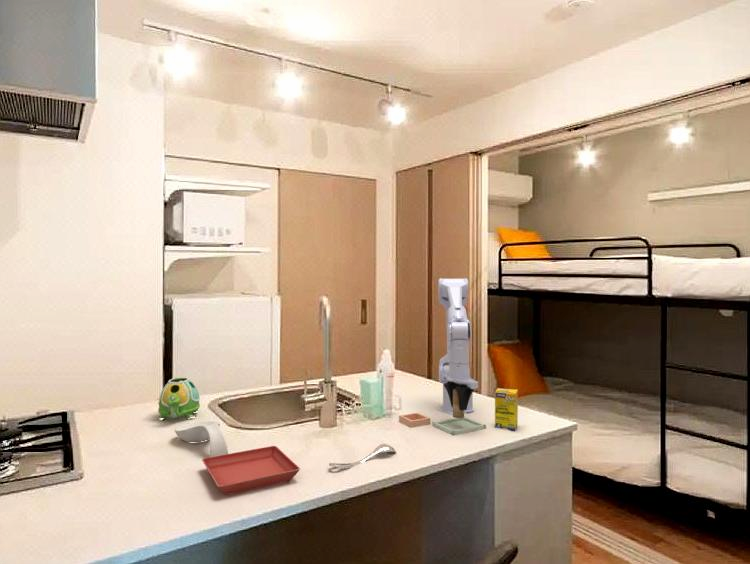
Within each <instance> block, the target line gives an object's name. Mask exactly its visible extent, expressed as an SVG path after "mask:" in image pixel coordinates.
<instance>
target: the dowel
mask: <svg viewBox="0 0 750 564" xmlns="http://www.w3.org/2000/svg"><path fill="white" fill-rule="evenodd" d="M464 414H465V413H464V410H462V411H461V410H460V409H459V399H458V394H457V391H456V388H455V389H453V415H452V417H453V418H463V417H465V416H464Z"/></svg>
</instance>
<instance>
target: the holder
mask: <svg viewBox="0 0 750 564" xmlns="http://www.w3.org/2000/svg"><path fill="white" fill-rule="evenodd" d="M398 423H401V424H402V425H403V424H404V425H405V426H407V427H409V428H418V427H422V426H429V425H431V417H428V416H426V415H424V414H422V413H420V412H413V413H408V414H401V415H399V416H398Z"/></svg>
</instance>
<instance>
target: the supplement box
mask: <svg viewBox="0 0 750 564" xmlns="http://www.w3.org/2000/svg"><path fill="white" fill-rule="evenodd" d="M494 393H495V394H494V428H497V429H506V430H509V431H514V432H515V431H516V430H517V427H518V423H519V422H518V417H519V416H518V415H519V413H518V412H519V408H518V407H519V403H518V402H519V400H518V398H519V389H512V388H511V389H510V388H501V387H498V388H497V389H496V390H495V392H494Z"/></svg>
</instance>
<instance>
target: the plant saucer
mask: <svg viewBox="0 0 750 564" xmlns="http://www.w3.org/2000/svg"><path fill="white" fill-rule="evenodd" d="M201 461H202V463H203V464H204V467H206V469H207V471H208V473H209V475H210V476H211V478H212V479H213V481H214V483H215V485H216V486H217V488H218V490H219V491H220V492H221V493H222V494H224V495H225V496H226V495H233V494H237V493H241V492H245V491H250V490H256V489H259V488H260V489H261V488H265V487H269V486H273V485H277V484H278V485H279V484H283V483H287V482H289V481H291V480H292V479H293V478H294V477H295V476H296V475H297V474H298V473H299V471H300V470H301V468H300V467H299V466H298V465H297V464H296V463H295V462H294V461H293V460H292V459H291V458H289V456H287V454H285V453H284V452H283V451H282V450H281V449H280V448H279V447H278V446H276V445H270V446H264V447H260V448H259V447H258V448H255V449H254V448H253V449H247V450H243V451H237V452H232V453H228V454H226V455H220V456H215V457H205V458H202V459H201Z"/></svg>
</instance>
